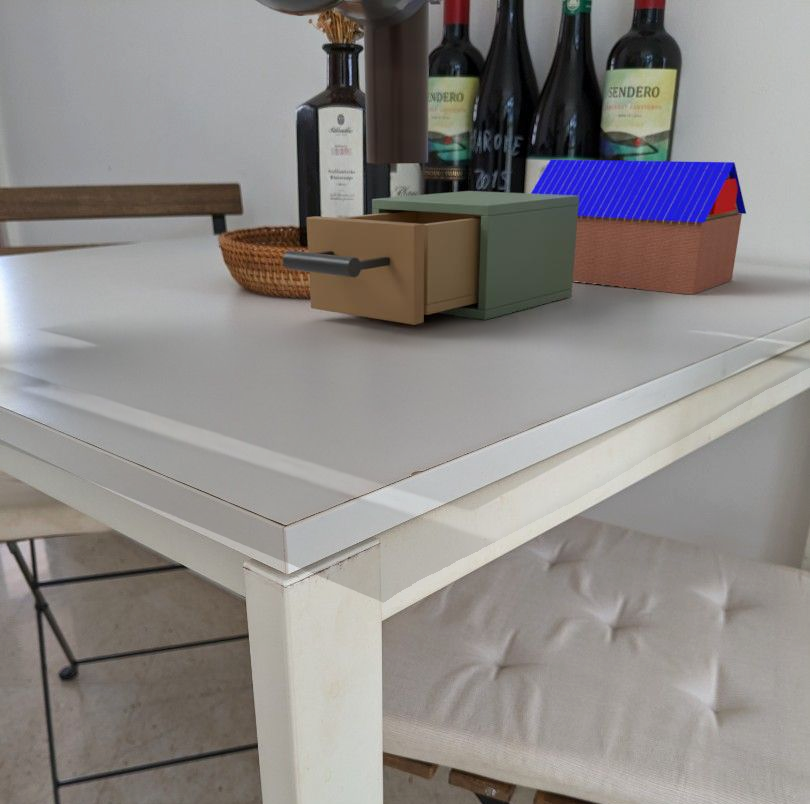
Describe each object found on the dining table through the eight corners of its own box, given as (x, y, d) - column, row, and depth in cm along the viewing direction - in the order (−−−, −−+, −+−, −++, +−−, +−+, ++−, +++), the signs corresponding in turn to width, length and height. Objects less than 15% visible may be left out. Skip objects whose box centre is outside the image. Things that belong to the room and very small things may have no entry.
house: (568, 264, 103) (576, 158, 98) (735, 279, 92) (754, 160, 86) (516, 276, 94) (522, 161, 89) (694, 295, 83) (712, 164, 78)
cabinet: (485, 320, 72) (489, 205, 68) (373, 303, 80) (371, 199, 76) (571, 296, 83) (579, 195, 79) (465, 284, 90) (468, 190, 86)
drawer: (372, 335, 63) (370, 230, 60) (267, 317, 69) (260, 221, 66) (510, 300, 76) (514, 212, 73) (410, 288, 82) (410, 206, 79)
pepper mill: (354, 163, 64) (347, -63, 58) (394, 161, 67) (391, -52, 61) (401, 163, 61) (399, -73, 55) (440, 162, 65) (442, -61, 59)
